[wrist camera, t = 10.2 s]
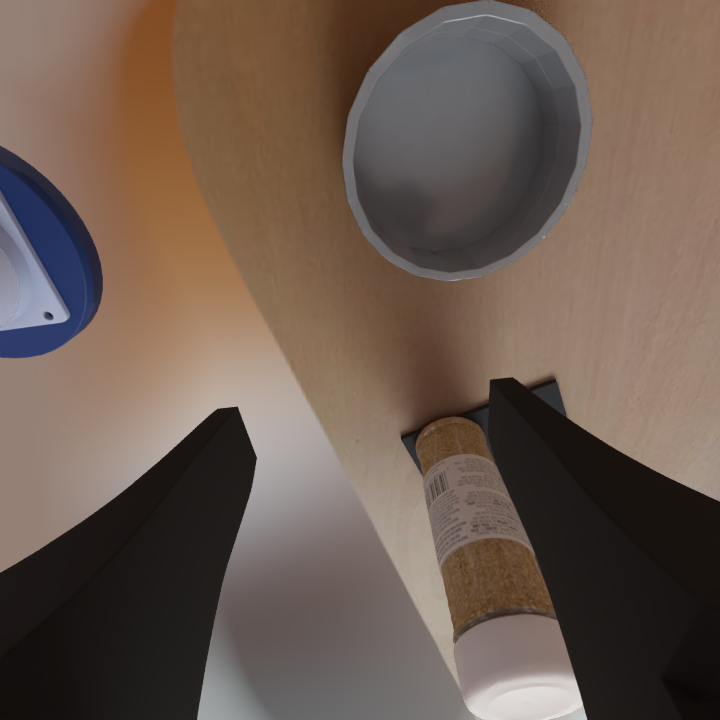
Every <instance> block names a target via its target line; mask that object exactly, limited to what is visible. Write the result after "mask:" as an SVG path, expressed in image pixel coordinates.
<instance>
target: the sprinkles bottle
mask: <svg viewBox="0 0 720 720" xmlns="http://www.w3.org/2000/svg"><path fill="white" fill-rule="evenodd" d="M416 453H417V457H418V459H419V460H420V464H421V470H422V474H423V480H424V484H423V486H424V493H425V498H426V503H427V508H428V514H429V519H430V524H431V529H432V534H433V539H434V544H435V549H436V555H437V560H438V565H439V569H440V573H441V576H442V578H443V581H444V586H445V591H446V595H447V599H448V606H449V610H450V614H451V620H452V623H453V628H454V633H453V635H454V637H453V642H454V644H455V646H454V657H455V663H456V667H457V672H458V677H459V682H460V687H461V691H462V695H463V699H464V703H465V704H466V706H467V708H468V709H469V710H470V712H471V713H473V714H474V715H476V716H477V717H479V718H481V719H484V720H550V719H553V718H557V717H560V716H563V715H566V714H568V713H570V712H572V711H574V710H576V709H578V708H579V707H581V706H582V705H583V702H582V699H581V695H580V692H579V688H578V685H577V682H576V678H575V675H574V672H573V669H572V665H571V662H570V659H569V655H568V652H567V649H566V645H565V642H564V639H563V636H562V633H561V630H560V626H559V623H558V620H557V617H556V614H555V611H554V608H553V605H552V601H551V598H550V595H549V592H548V589H547V587H546V584H545V582H544V579H543V576H542V574H541V572H540V570H539V568H538V564H537V561H536V559H535V554H534V551H533V549H532V546H531V544H530V541H529V539H528V537H527V534H526V532H525V530H524V527H523V525H522V523H521V521H520V518H519V516H518V514H517V511H516V509H515V507H514V505H513V502H512V500H511V498H510V496H509V493H508V491H507V489H506V487H505V484H504V482H503V480H502V478H501V475H500V473H499V471H498V468H497V466H496V465H495V463H494V460H493V458H492V456H491V454H490V451H489V449H488V446H487V444H486V438H485V435H484V432H483V431H482V429H481V428H480V427H479V425H478V424H476V423H474V422H472V421H471V420H468V419H465V418H462V417H447V418H444V419H439V420H437V421H435V422H433V423H431V424H429V425H428V426H426V427H425V428H424V429H423V430H422V431H421V434H420V435H419V436H418V438H417V441H416Z"/></svg>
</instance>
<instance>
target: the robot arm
mask: <svg viewBox="0 0 720 720" xmlns="http://www.w3.org/2000/svg"><path fill="white" fill-rule="evenodd" d="M48 312H49V313H51V314H52V315H53V317H52V316H50V315H49V314H48ZM69 318H70V312H69V310H68V308H67V307H66V305H65V303H64V301H63V299H62V298H61V296H60V294H59V292H58V291H57V289H56V287H55V285H54V284H53V282H52V280H51V278H50V277H49V275H48V273H47V271H46V270H45V268H44V266H43V264H42V262H41V261H40V259H39V257H38V255H37V254H36V252H35V250H34V248H33V247H32V245H31V243H30V241H29V240H28V238H27V236H26V234H25V233H24V231H23V229H22V227H21V225H20V224H19V222H18V220H17V218H16V217H15V215H14V213H13V211H12V210H11V208H10V206H9V204H8V203H7V201H6V199H5V197H4V196H3V194H2V192H1V190H0V331H3V330H10V329H17V328H25V327H32V326H39V325H47V324H54V323H62V322H65V321H66V320H68V319H69ZM488 439H489V442H490V446H491V449H492V453H493V456H494V459H495V462H496V465H497V468H498V471H499V473H500V475H501V478H502V480H503V482H504V484H505V487H506V489H507V491H508V493H509V496H510V498H511V500H512V502H513V505H514V507H515V509H516V511H517V513H518V516H519V518H520V520H521V522H522V524H523V527H524V529H525V531H526V533H527V536H528V538H529V540H530V542H531V545H532V547H533V550H534V552H535V555H536V557H537V560H538V563H539V566H540V569H541V572H542V575H543V578H544V581H545V584H546V586H547V589H548V592H549V595H550V598H551V601H552V605H553V608H554V611H555V614H556V617H557V620H558V623H559V626H560V630H561V633H562V636H563V639H564V642H565V645H566V649H567V652H568V655H569V659H570V662H571V665H572V669H573V672H574V675H575V678H576V682H577V685H578V688H579V692H580V695H581V699H582V702H583V706H584V709H585V713H586V716H587V720H720V501H717V500H715V499H713V498H710V497H708V496H706V495H704V494H702V493H700V492H698V491H695V490H693V489H691V488H689V487H687V486H685V485H683V484H680V483H678V482H676V481H674V480H672V479H670V478H668V477H666V476H664V475H662V474H660V473H658V472H656V471H654V470H652V469H650V468H649V467H647V466H645V465H643V464H641V463H639V462H638V461H636V460H634V459H632V458H630V457H628V456H627V455H625V454H623V453H621V452H620V451H618V450H616V449H614V448H613V447H611V446H609V445H608V444H606V443H605V442H603V441H601V440H600V439H598V438H597V437H595V436H594V435H592V434H590V433H589V432H587V431H586V430H584V429H583V428H581V427H580V426H578V425H577V424H575V423H574V422H572V421H571V420H570V419H568V418H567V417H565V416H564V415H562V414H561V413H560V412H558V411H557V410H555V409H554V408H553V407H551V406H550V405H549V404H547V403H546V402H545V401H543V400H542V399H541V398H539V397H538V396H537V395H535V394H534V393H533V392H531V391H530V390H529V389H528V388H526V387H525V386H524V385H522V384H521V383H520V382H518V381H517V380H516V379H514V378H513V377H511V378H502V379H492V380H490V392H489V415H488ZM256 460H257V457H256V454H255V452H254V449H253V447H252V444H251V441H250V438H249V436H248V433H247V431H246V428H245V425H244V422H243V420H242V417H241V414H240V412H239V409H238V407H230V408H221V409H217V410H215V411H214V412H213V413H212V414H211V415H209V416H208V417H207V418H206V419H205V420H204V421H203V422H202V423H200V424H199V425H198V426H197V427H196V428H195V429H194V430H193V431H192V432H191V433H190V434H189V435H188V436H186V437H185V438H184V439H183V440H182V441H181V442H180V443H179V444H178V445H177V446H176V447H174V448H173V449H172V450H171V451H170V452H169V453H168V454H167V455H166V456H165V457H163V458H162V459H161V460H160V461H159V462H158V463H157V464H155V465H154V466H153V467H152V468H151V469H149V470H148V471H147V472H146V473H145V474H143V475H142V476H141V477H140V478H139V479H138V480H136V481H135V482H134V483H133V484H132V485H131V486H129V487H128V488H127V489H126V490H124V491H123V492H122V493H120V494H119V495H118V496H117V497H116V498H114V499H113V500H111V501H110V502H109V503H107V504H106V505H105V506H103V507H102V508H100V509H99V510H98V511H96V512H95V513H94V514H92V515H91V516H89V517H88V518H87V519H85V520H84V521H82V522H81V523H80V524H78V525H76V526H75V527H73V528H72V529H70V530H69V531H67V532H66V533H64V534H63V535H61V536H60V537H58V538H56V539H55V540H53V541H52V542H50V543H49V544H47V545H46V546H44V547H43V548H41V549H40V550H38V551H36V552H35V553H33V554H32V555H30V556H28V557H26V558H25V559H23V560H21V561H20V562H18V563H17V564H15V565H13V566H11V567H10V568H8V569H6V570H4V571H3V572H1V573H0V720H197V715H198V709H199V702H200V697H201V690H202V685H203V679H204V672H205V667H206V661H207V655H208V650H209V645H210V639H211V635H212V629H213V624H214V619H215V615H216V610H217V605H218V601H219V596H220V592H221V587H222V582H223V579H224V575H225V572H226V568H227V564H228V561H229V558H230V555H231V552H232V549H233V545H234V543H235V540H236V537H237V533H238V530H239V527H240V524H241V521H242V518H243V515H244V511H245V509H246V505H247V502H248V499H249V495H250V492H251V488H252V483H253V478H254V471H255V466H256Z"/></svg>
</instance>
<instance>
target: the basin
mask: <svg viewBox="0 0 720 720" xmlns="http://www.w3.org/2000/svg"><path fill="white" fill-rule="evenodd" d="M585 77H586V75H585V73H584V71H583V69H582V68H581V66H580V64H579V62H578V60H577V58H576V56H575V54H574V52H573V50H572V49H571V47H570V45H569V43H568V41H567V39H566V38H565V37H564V36H563V35H562V34H561V33H560V32H558V31H557V30H556V29H555V28H554V27H552V26H551V25H550V24H549V23H547V22H546V21H545V20H544V19H543V18H541V17H540V16H539V15H538V14H536V13H535V12H534V11H531V10H530V9H527V8H523V7H520V6H516V5H512V4H508V3H504V2H500V1H496V0H477V1H472V2H466V3H460V4H454V5H449V6H444V7H443V8H439V9H438V10H436V11H434V12H433V13H431V14H429V15H428V16H426V17H424V18H423V19H421V20H419V21H418V22H416V23H414V24H413V25H411V26H409V27H408V28H406V29H405V30H403V31H401V33H399V34H398V35H397V36H396V38H395V39H394V40H393V41H392V42H391V43H390V45H389V46H388V47H387V48H386V49H385V50H384V52H383V53H382V54H381V55H380V56H379V58H378V59H377V60H376V61H375V62H374V63H373V65H372V66H371V67H370V68H369V70H368V71H367V73H366V75H365V77H364V80H363V82H362V84H361V86H360V89H359V91H358V93H357V95H356V98H355V100H354V102H353V105H352V107H351V109H350V111H349V114H348V115H349V116H348V118H347V125H346V132H345V139H344V146H343V154H342V167H343V174H344V181H345V188H346V195H347V200H348V204H349V206H350V208H351V210H352V212H353V214H354V216H355V219H356V221H357V223H358V225H359V227H360V229H361V231H362V234H363V235H364V237H365V238H366V239H367V240H368V241H369V242H370V243H371V244H372V245H373V246H374V247H375V248H376V249H377V250H378V252H379V253H380V254H381V255H382V256H383V257H384V258H385V259H386V260H387V261H389V262H391V263H392V264H394V265H396V266H398V267H400V268H402V269H404V270H405V271H407V272H409V273H411V274H413V275H415V276H419V277H425V278H430V279H436V280H442V281H455V280H463V279H470V278H478V277H482V276H485V275H487V274H489V273H492V272H494V271H496V270H498V269H501V268H503V267H505V266H508V265H510V264H512V263H514V262H516V261H517V260H518V259H519V258H521V257H522V256H523V255H524V254H526V253H527V252H528V251H529V250H531V249H532V248H533V247H534V246H536V245H537V244H538V243H539V242H541V241H542V240H543V238H545V237H546V236H547V234H548V233H549V232H550V230H551V229H552V228H553V226H554V225H555V224H556V223H557V221H558V220H559V219H560V217H561V216H562V215H563V213H564V212H565V211H566V209H567V208H568V206H569V205H570V203H571V200H572V198H573V196H574V193H575V191H576V189H577V186H578V184H579V182H580V180H581V177H582V175H583V173H584V170H585V168H586V165H587V158H588V151H589V144H590V138H591V131H592V124H593V122H592V121H593V119H592V112H591V105H590V98H589V91H588V84H587V78H585Z"/></svg>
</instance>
